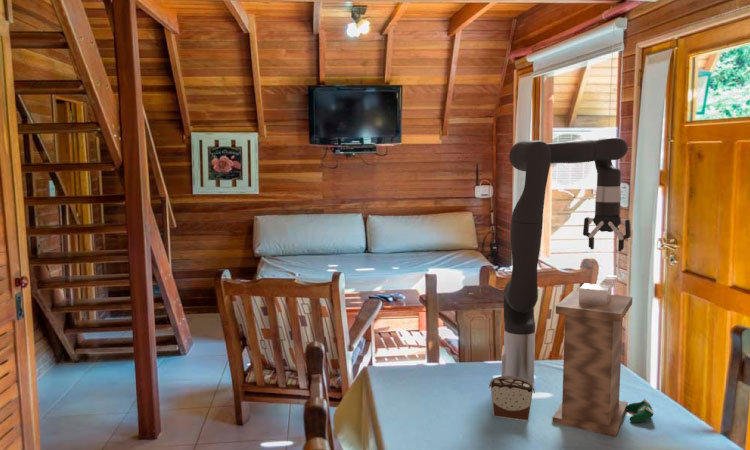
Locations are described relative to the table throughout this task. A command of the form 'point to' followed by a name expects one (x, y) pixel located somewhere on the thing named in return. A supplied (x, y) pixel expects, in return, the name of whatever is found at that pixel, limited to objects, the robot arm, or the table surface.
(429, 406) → the table surface
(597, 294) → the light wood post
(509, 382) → the food container
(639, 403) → the gaming controller
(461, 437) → the table surface
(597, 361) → the stand
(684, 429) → the table surface
